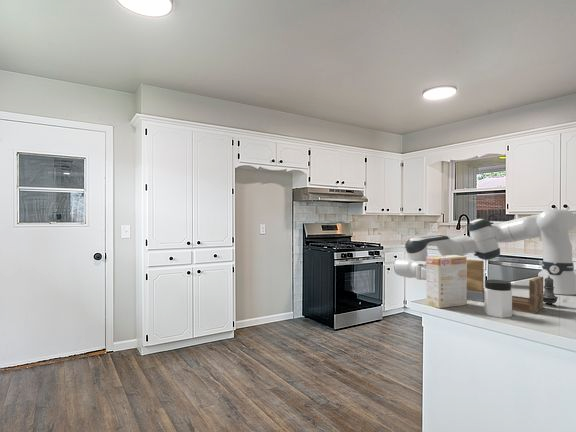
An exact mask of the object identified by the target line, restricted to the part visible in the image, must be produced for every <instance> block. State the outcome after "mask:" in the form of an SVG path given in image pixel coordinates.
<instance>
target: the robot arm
mask: <svg viewBox="0 0 576 432" xmlns="http://www.w3.org/2000/svg"><path fill="white" fill-rule="evenodd" d="M494 224H495V223H494V222H491V221H490V220H488V219H485V218H477V219H476V218H475V219H474V220H472V221H471V222H469V223H468V225H467V230H468V232H469V234H470V235H463V234H462V235H459V236H458V235H457V236H455V237H451V238H450V237H449V236H448V235H441V234H440V235H430V236H423V237H411V238H409V239H408V240H407V241H406V242H405V245H404V246H405V250H406V255H407V259H403V258H401V259H396V260H394V263H393V269H394V273H395V275H397V276H400V277H403V278H407V279H409V278H410V279H413V278H414V279H416V280H421V281H422V280H423V281H427V272H426V257H429V256H428V246H434V245H435V246H436V247H437V250H438V253H439V254H440V256H446V255H459V256H466V255H468V254H470V253H474V254H473V255H474V257H477V258H479V259H481V260H482V261H491V260H494V259H496V258H498V257H499V256H500V255H501V249H500V247H499V243H501V244H502V243H505V244H506V243H514V242H519V241H524V240H529V239H530V240H531V239H535V238H540V237H541V241H542V251H543V254H542V259H543V260H542V262H541V268H542V269H541V271H539V272H538V276H537V277H539V276H540V277H543V286H545V278H548V276H550V278H552V279H553V287H555V288H554V295H555V294H556V295H567V296H568V295H569V296H571V295H572V296H574V295H576V274H575V272H574V270H575V269H574V268H575V266H574V265H575V264H574V262H573V244H572V243H571V239H570V235H569V232H570V231H572V230H574V229H575V228H576V214H574V212H572V211H571V210H568V209H559V208H557V209H556V208H552V209H551V208H549V209H546V210H544V211H542V212H541V213H539V214H538V213H537V214H532V215H527V216H524V217H519V218H513V219H510V220H507V221H504V222H502V223H498V224H496V225H494ZM543 293H544V287H543Z"/></svg>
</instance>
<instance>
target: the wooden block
mask: <svg viewBox="0 0 576 432" xmlns="http://www.w3.org/2000/svg"><path fill="white" fill-rule="evenodd" d="M484 261H485V260H478V259H467V290H468V291H475V292H482V293H483V298H484V287H485V279H484V276H485V275H484V274H485V273H484V271H485V269H484V267H485V265H484V263H485V262H484Z"/></svg>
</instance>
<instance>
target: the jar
mask: <svg viewBox="0 0 576 432" xmlns="http://www.w3.org/2000/svg"><path fill="white" fill-rule="evenodd" d="M512 296H513V290H512V282H511V281H508V280H502V279H486V280H485V279H484V302H483V304H484V305H483V307H484V309H483V311H484V313H485V314H486V315H487V316H490V317H495V318H502V319H503V318H512V317H513V310H512Z"/></svg>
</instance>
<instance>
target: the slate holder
mask: <svg viewBox="0 0 576 432" xmlns="http://www.w3.org/2000/svg"><path fill="white" fill-rule="evenodd" d="M467 300H469V301H475V302H480V303H484V298H483V293H482V292H475V291H468V290H467Z"/></svg>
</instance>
